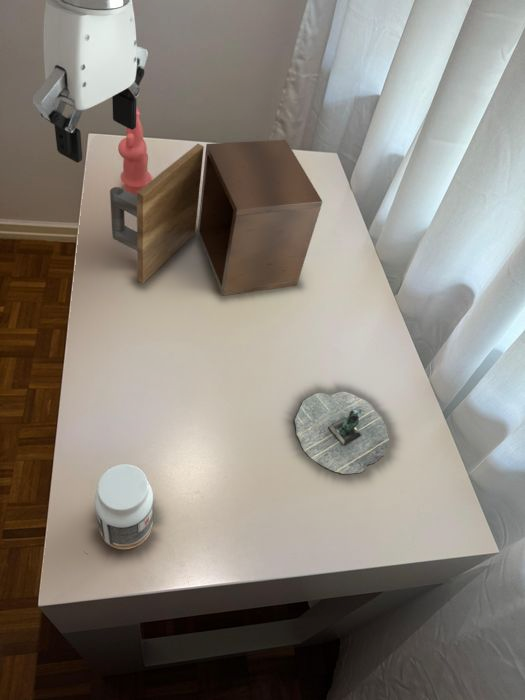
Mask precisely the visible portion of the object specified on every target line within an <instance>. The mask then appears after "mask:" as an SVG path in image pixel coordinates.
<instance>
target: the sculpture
mask: <svg viewBox="0 0 525 700" xmlns="http://www.w3.org/2000/svg"><path fill="white" fill-rule="evenodd" d="M294 424H295V433H296V436H297V437H298V440H299V443H300V445H301V448H302V449H303V452H305V453H306V455H307V456H308V457H309V458H310V459H311V460H312V461H314V462H315V463H317V464H319V465H320V466H322V467H324V468H326V469H327V470H330V471H332V472H335V473H339V474H342V475H351V474H352V475H353V474H359V473H362V472H364V471H365V470H367V466H368V465H372V464H375V463H377V462H378V461H379V460H381V458H382V457H384V456H385V454H386V450H387V447H388V443H389V441H390V437H389V434H388V433H389V432H388V429H387V426H386V423H385V420H384V419H383V417H382V415H381V414H380V412H378V411H376V410H375V408H374V407H373V405H372V404H371V403H370V402H368V401H367V400H365V399H364V398H361V397H358V396H357V395H354V394H352V393H350V392H347V391H338V392H337V391H336V392H335V393H333V394H326V393H325V392H318V393H314V394H312V395H311V396H308V397H307V398H306V399H303V401H302V403H301V405H300V407H299V409H298V412H297V414H296V416H295V418H294Z"/></svg>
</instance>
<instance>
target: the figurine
mask: <svg viewBox="0 0 525 700" xmlns="http://www.w3.org/2000/svg"><path fill="white" fill-rule="evenodd" d="M140 115H141V111H140V110H139V106H136V128H134V129H133V130H132V129H129V128H127V127H126V131H125V132H126V137H124V138H122V139H121V140H120V141H119V143H118V145H117V146H118V147H117V149H118V150H117V151H118V154H119V155H120V157H122V158H123V160H122V161H123V162H122V171H121V173H120V180H121V183H123V189H124V190H126V191H128V192H130V193H132V194H134V195H136V196H137V192H138V191H139V190H140V189H142V188H143V187H144V186H145V185H147V184H148V183H149V182H150V181H152V180H153V176H152V175H151V173H150V172H149V171H148V163H149V155H148V148H147V147H148V146H147V143H146V141H145V140H144V129H143V126H142V122H141V120H140V117H139V116H140Z"/></svg>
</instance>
